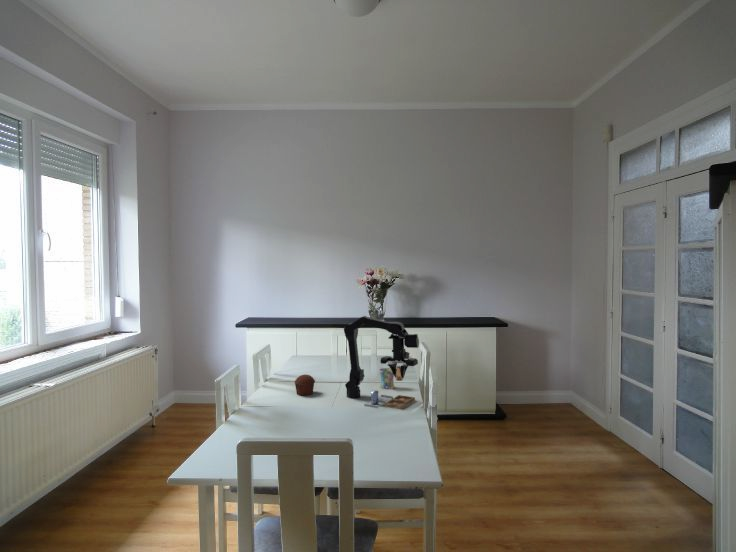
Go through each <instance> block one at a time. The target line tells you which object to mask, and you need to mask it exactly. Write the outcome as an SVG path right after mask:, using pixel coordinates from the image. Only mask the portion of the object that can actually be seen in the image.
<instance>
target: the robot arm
mask: <svg viewBox="0 0 736 552" xmlns="http://www.w3.org/2000/svg"><path fill="white" fill-rule="evenodd" d="M364 325H365V326H368V327H374V328H375V329H376V328H377V329H381V330H385V331H387V332H388V333H390V335H389V336H388V340H389V339H390V340H392V350H391V352H392V356H387V355H385V356H383V357H381V358H380V359H379V360H380V364H383V365H384V364H387V365H386V366H388V368H390V369H391V370H392V372H393V374H394V378H395V379H396V367H397V366H398V364H402V365H400V366H401V373H402V378H403V379H405V375H406V372H407V369H408V367H414V366H416V365H419V360H418V359H417V358H413V357H412V358H411V357H410V352H408V351H407V350H406V349H407V348H409V349H410V348H411V349H412V348H413V349H419V347H420V346H419V345H420V340H419V336H418V334H417V333H415V334H414V333H413V334H412V333H411V334H410V333H409V332H408V331H407V330H406V328H405V324H404V323H403V322H400V321H386V320H381V319H378V318H377V319H376V318H374V317H368V316H366V315H363V316H360V317H359V318H358V319H357V320H355V321H352V322H350V323H348V324H346V325H345V326H344V327H343V332H344V336H345V338H346V340H347V342H348V343H347V344H348V351H349V353H348V354H349V361H350V363H349V364H350V371H349V376H348V378H349V380H348V381H347V382H346V383H345V389H346V398H348V399H350V400H351V399H353V400H354V399H360V398H361V389H360V385H361V383H362V382H364V378H365V376H366V375H365V369H362V368H361V366H360V360H359V359H360V357H359V349H358V341H357V339H358V335H359V329H360V328H361V327H363V326H364ZM405 347H406V348H405Z"/></svg>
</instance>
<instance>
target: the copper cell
mask: <svg viewBox="0 0 736 552" xmlns="http://www.w3.org/2000/svg"><path fill="white" fill-rule="evenodd" d="M401 366H402V365H397V366H396V378H395V381H399V382H400V381H404V378H402V373H401Z"/></svg>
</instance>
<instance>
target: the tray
mask: <svg viewBox="0 0 736 552" xmlns="http://www.w3.org/2000/svg"><path fill="white" fill-rule="evenodd" d="M415 401H416V397H414V396H408V395H402V394H398V395H396V396H395V397H393V399H391V400H389V401H388V402H386V403H384V408H391V409H396V410H403V409H404V408H406V407H407V406H409V405H411V404H413V402H415Z"/></svg>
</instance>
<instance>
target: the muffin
mask: <svg viewBox="0 0 736 552" xmlns="http://www.w3.org/2000/svg"><path fill="white" fill-rule="evenodd" d="M315 383H316V380H315V378H314V377H313V376H311V375H310V374H302V375H301V374H300V375H299V376H297V377H296V378H295V380H294V385H295V391H296V395H298V396H301V397H306V396H311V395H313V393H314V387H315V386H314V385H315Z"/></svg>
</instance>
